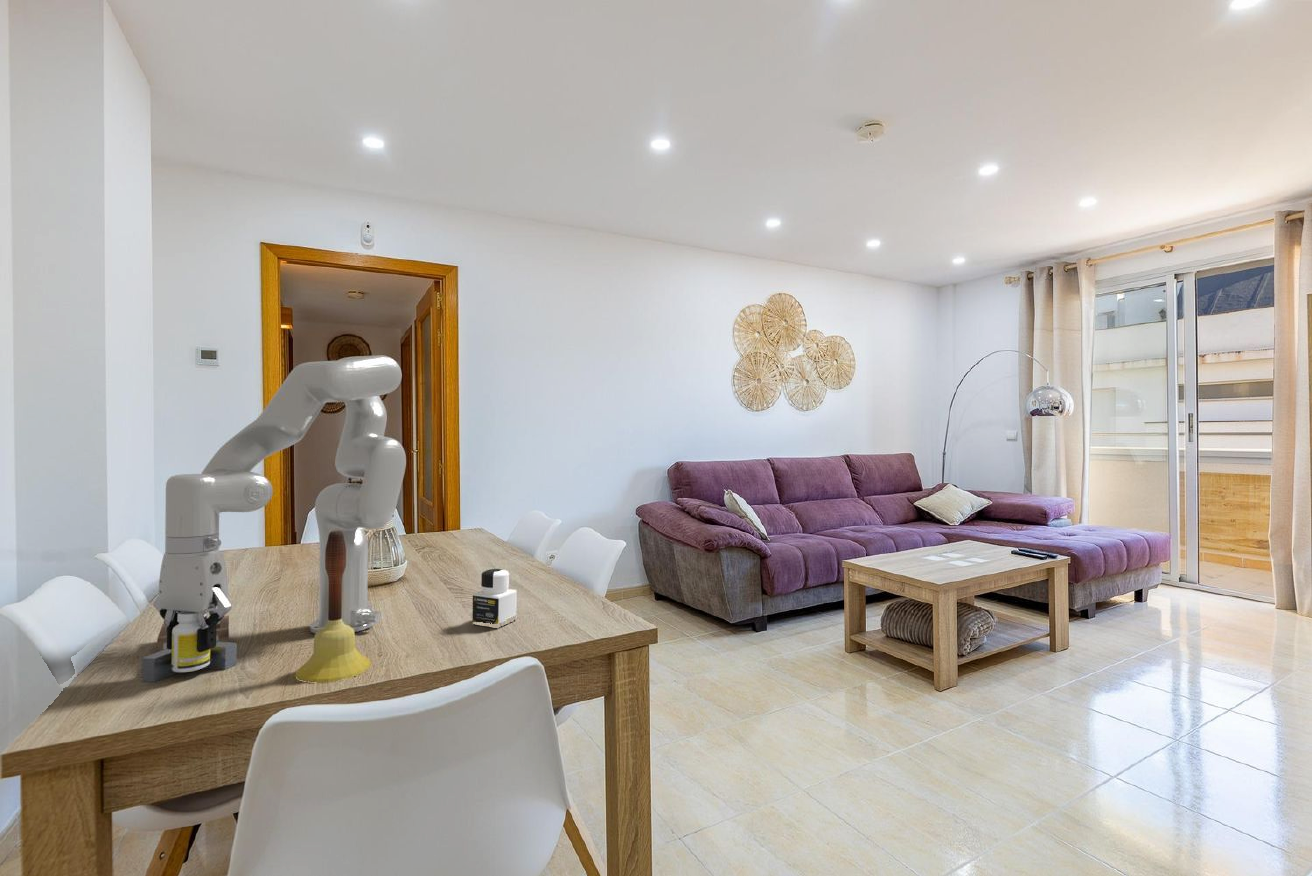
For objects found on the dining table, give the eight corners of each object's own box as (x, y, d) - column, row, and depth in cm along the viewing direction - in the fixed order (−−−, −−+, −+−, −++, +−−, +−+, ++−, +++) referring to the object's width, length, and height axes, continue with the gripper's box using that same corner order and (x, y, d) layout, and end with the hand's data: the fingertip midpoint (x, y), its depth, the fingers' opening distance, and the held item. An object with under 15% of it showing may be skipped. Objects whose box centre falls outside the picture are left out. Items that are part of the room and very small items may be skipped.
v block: (144, 668, 109) (144, 645, 109) (234, 653, 117) (234, 632, 117) (140, 684, 102) (141, 660, 102) (236, 667, 110) (237, 645, 110)
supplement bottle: (217, 664, 108) (218, 609, 108) (185, 675, 103) (186, 617, 103) (196, 660, 110) (197, 605, 110) (163, 670, 105) (164, 614, 105)
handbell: (383, 657, 116) (385, 526, 116) (352, 684, 104) (354, 537, 104) (318, 657, 116) (319, 526, 116) (279, 683, 104) (281, 536, 104)
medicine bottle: (471, 625, 137) (472, 572, 137) (491, 617, 143) (492, 566, 143) (497, 629, 134) (498, 575, 134) (516, 620, 141) (517, 568, 141)
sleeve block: (228, 631, 130) (228, 615, 130) (228, 646, 121) (228, 629, 121) (162, 641, 123) (162, 623, 123) (157, 657, 114) (157, 639, 114)
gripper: (252, 543, 109) (251, 644, 109) (171, 539, 112) (170, 637, 112) (215, 551, 101) (214, 659, 101) (129, 546, 104) (128, 652, 104)
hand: (191, 647), depth 107 cm, fingers closed on supplement bottle, 5 cm apart
